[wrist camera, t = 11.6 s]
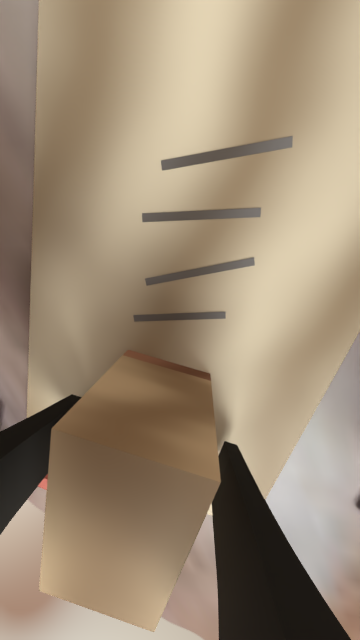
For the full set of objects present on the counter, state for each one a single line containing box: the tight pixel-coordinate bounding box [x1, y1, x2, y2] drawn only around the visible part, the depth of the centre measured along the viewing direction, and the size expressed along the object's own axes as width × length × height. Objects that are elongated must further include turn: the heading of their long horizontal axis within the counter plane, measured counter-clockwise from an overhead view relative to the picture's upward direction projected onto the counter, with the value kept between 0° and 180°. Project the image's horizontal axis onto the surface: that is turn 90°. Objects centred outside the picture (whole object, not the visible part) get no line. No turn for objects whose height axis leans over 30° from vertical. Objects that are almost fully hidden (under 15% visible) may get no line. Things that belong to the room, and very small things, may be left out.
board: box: [27, 0, 360, 516], centre depth 8 cm, size 14×22×1 cm, turn 166°
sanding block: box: [39, 350, 221, 632], centre depth 7 cm, size 4×7×4 cm, turn 166°
